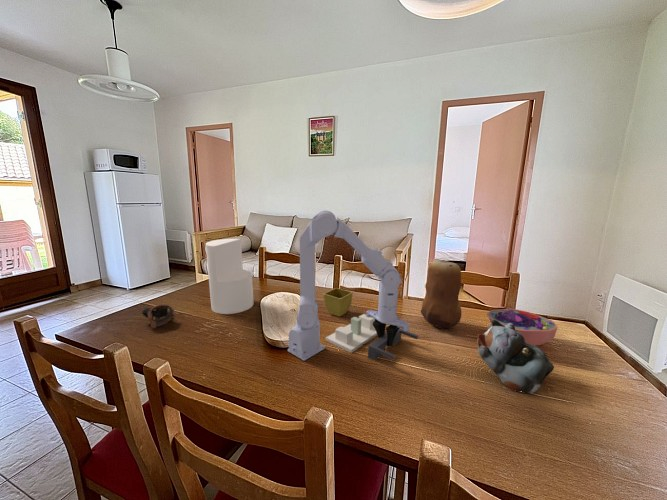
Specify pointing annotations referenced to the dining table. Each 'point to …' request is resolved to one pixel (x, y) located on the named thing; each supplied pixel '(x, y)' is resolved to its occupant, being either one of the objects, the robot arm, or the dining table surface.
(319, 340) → the robot arm
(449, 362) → the dining table surface
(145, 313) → the pottery mug
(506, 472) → the dining table surface
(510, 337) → the lucky cat figurine
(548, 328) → the cell model
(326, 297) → the flower pot
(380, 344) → the grey c-shaped bracket
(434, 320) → the butternut squash
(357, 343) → the stand
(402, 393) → the dining table surface
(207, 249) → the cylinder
